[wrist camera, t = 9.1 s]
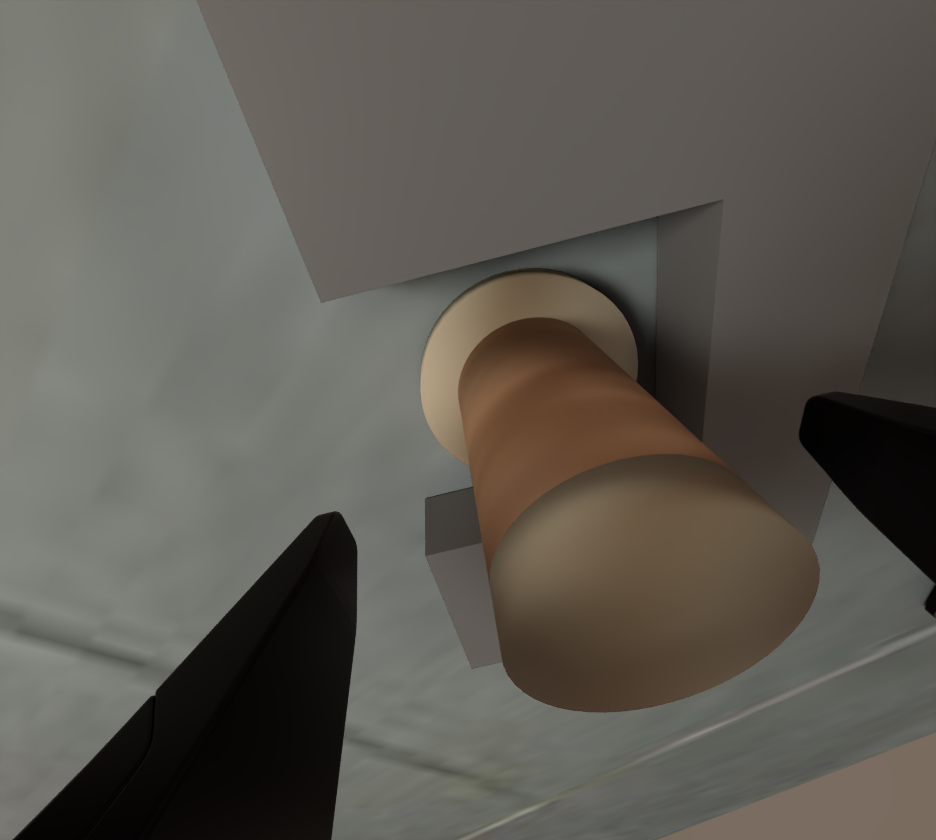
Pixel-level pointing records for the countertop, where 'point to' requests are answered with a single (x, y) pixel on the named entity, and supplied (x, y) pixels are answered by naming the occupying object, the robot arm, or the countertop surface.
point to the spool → (602, 505)
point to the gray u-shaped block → (612, 186)
